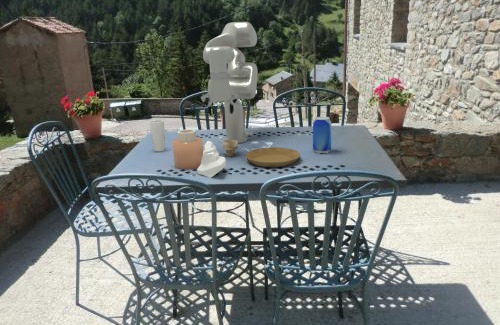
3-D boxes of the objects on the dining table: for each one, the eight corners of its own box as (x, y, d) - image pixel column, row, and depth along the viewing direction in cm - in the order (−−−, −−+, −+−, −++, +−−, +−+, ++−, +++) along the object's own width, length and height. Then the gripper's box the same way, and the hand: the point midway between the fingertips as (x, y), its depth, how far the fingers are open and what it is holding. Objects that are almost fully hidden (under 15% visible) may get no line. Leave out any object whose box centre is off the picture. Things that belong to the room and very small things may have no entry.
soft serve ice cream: (194, 182, 170) (184, 148, 168) (206, 173, 184) (196, 141, 182) (223, 175, 167) (213, 140, 165) (232, 166, 181) (223, 134, 179)
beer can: (332, 149, 201) (333, 116, 196) (328, 154, 194) (328, 120, 189) (315, 148, 205) (315, 115, 200) (310, 153, 197) (310, 119, 193)
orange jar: (199, 158, 196) (197, 126, 191) (207, 166, 184) (205, 132, 180) (171, 162, 192) (168, 130, 187) (177, 170, 180) (174, 136, 175)
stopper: (235, 152, 204) (234, 139, 202) (240, 156, 197) (239, 142, 195) (221, 154, 201) (220, 141, 199) (225, 158, 195) (225, 144, 193)
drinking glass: (163, 152, 208) (160, 122, 204) (150, 152, 210) (147, 122, 205) (168, 148, 215) (165, 119, 210) (156, 148, 216) (153, 119, 212)
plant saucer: (286, 151, 204) (285, 144, 203) (309, 164, 182) (309, 157, 181) (238, 157, 196) (238, 150, 195) (257, 172, 174) (257, 165, 173)
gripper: (235, 74, 195) (237, 111, 200) (198, 76, 191) (200, 114, 196) (239, 75, 188) (241, 114, 193) (200, 78, 184) (203, 117, 189)
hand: (220, 114), depth 194 cm, fingers open, 9 cm apart
